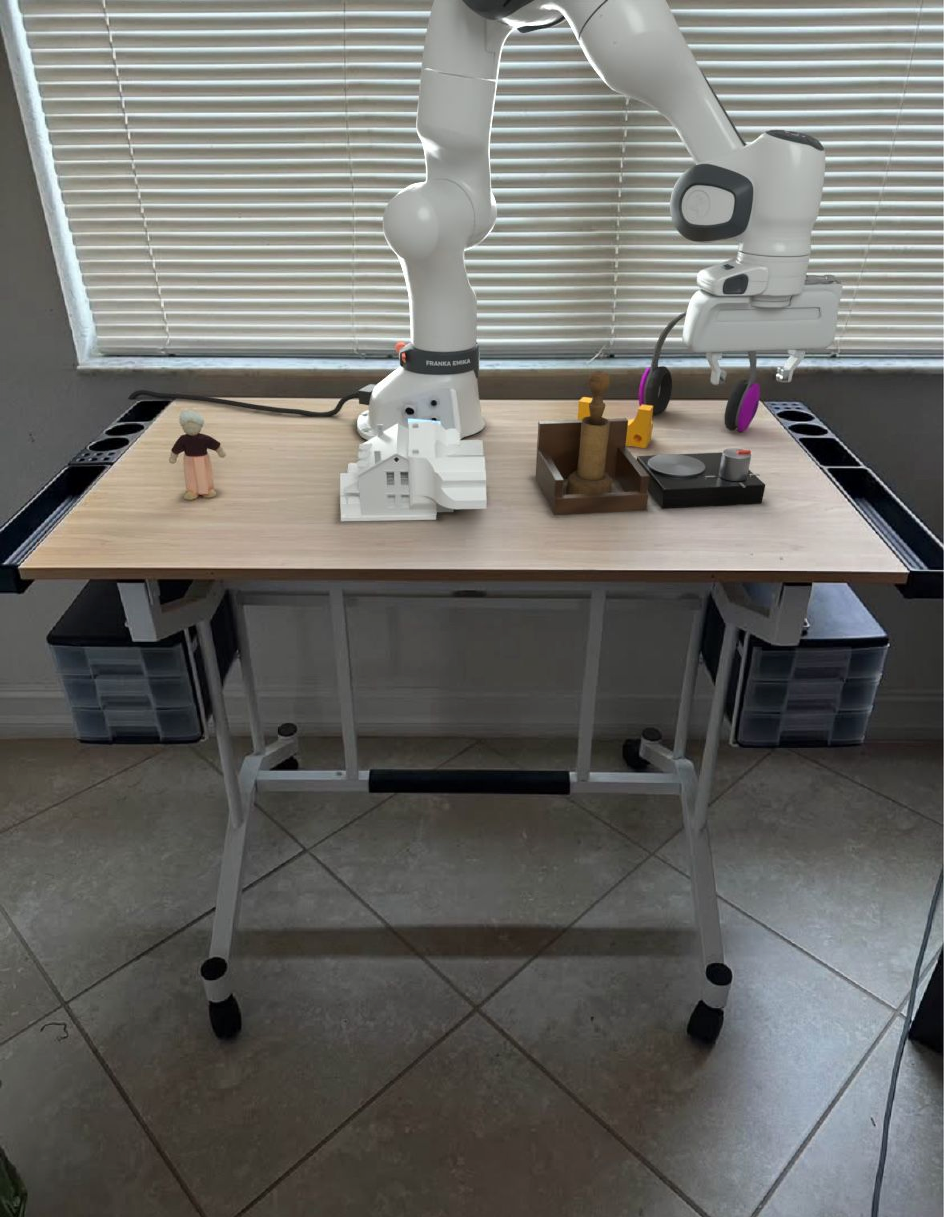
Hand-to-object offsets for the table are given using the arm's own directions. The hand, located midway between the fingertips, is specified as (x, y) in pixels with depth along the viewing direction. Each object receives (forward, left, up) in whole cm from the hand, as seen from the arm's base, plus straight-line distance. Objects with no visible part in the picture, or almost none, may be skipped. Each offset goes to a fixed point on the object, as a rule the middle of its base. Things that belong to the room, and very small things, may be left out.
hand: (750, 382), depth 116 cm
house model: (-47, +1, -17) cm, 50 cm away
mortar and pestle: (-21, +3, -17) cm, 27 cm away
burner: (-7, +5, -14) cm, 16 cm away
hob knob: (0, 0, -14) cm, 14 cm away
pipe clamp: (-11, +25, -17) cm, 32 cm away
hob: (-4, +3, -17) cm, 18 cm away
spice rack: (-21, +3, -17) cm, 27 cm away
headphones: (+6, +32, -17) cm, 37 cm away
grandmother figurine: (-77, +9, -17) cm, 79 cm away
